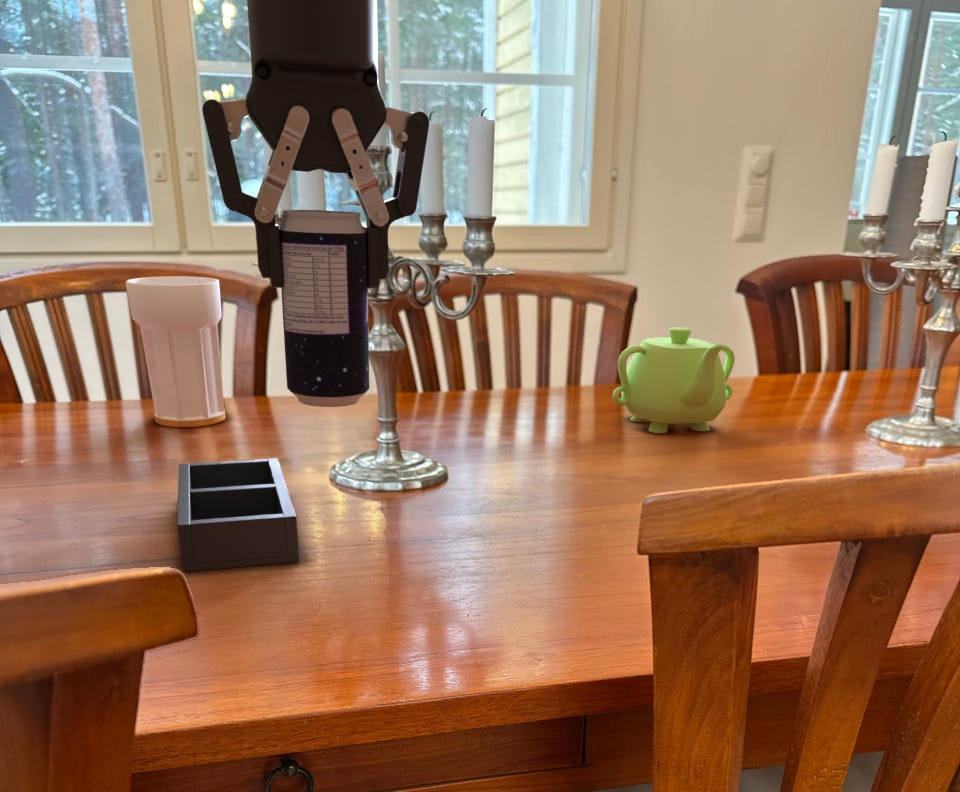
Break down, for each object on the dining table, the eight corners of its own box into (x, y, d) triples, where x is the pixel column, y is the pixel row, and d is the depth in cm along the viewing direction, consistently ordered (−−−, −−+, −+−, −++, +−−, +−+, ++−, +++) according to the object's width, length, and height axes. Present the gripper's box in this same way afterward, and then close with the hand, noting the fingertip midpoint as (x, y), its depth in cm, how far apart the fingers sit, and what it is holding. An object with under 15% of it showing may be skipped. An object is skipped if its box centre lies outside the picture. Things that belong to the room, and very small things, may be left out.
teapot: (750, 426, 123) (766, 330, 117) (707, 446, 113) (721, 342, 107) (646, 407, 132) (655, 317, 126) (596, 425, 122) (605, 327, 116)
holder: (183, 572, 74) (177, 525, 72) (184, 503, 89) (178, 463, 87) (299, 561, 76) (296, 516, 74) (280, 497, 92) (277, 457, 90)
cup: (127, 424, 117) (104, 281, 109) (182, 406, 126) (164, 274, 118) (199, 433, 114) (181, 287, 106) (250, 414, 123) (237, 279, 115)
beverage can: (384, 405, 62) (382, 214, 57) (308, 412, 59) (299, 212, 54) (347, 389, 66) (342, 210, 61) (274, 396, 63) (262, 208, 58)
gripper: (420, -2, 57) (418, 282, 64) (183, -24, 53) (211, 280, 61) (447, -24, 50) (442, 294, 58) (179, -51, 47) (212, 292, 54)
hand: (323, 285), depth 59 cm, fingers closed on beverage can, 5 cm apart
